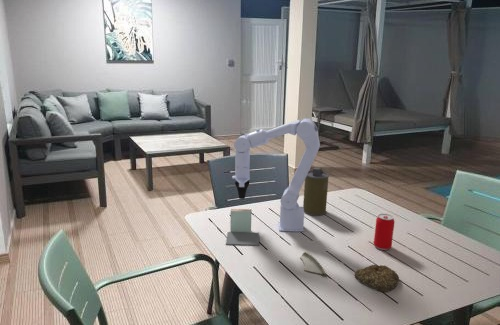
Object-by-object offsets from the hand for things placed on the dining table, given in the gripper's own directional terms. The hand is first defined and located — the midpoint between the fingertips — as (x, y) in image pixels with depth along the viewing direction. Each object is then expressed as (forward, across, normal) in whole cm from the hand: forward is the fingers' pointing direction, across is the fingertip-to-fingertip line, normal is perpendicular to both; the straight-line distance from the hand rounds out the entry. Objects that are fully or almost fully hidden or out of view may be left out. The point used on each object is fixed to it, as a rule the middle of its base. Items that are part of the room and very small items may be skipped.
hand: (241, 198), depth 162 cm
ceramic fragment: (+11, +34, +24) cm, 43 cm away
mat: (+10, +15, +1) cm, 19 cm away
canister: (+11, -14, +32) cm, 37 cm away
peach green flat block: (+10, +9, 0) cm, 14 cm away
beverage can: (+11, +19, +52) cm, 56 cm away
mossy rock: (+11, +41, +44) cm, 61 cm away
